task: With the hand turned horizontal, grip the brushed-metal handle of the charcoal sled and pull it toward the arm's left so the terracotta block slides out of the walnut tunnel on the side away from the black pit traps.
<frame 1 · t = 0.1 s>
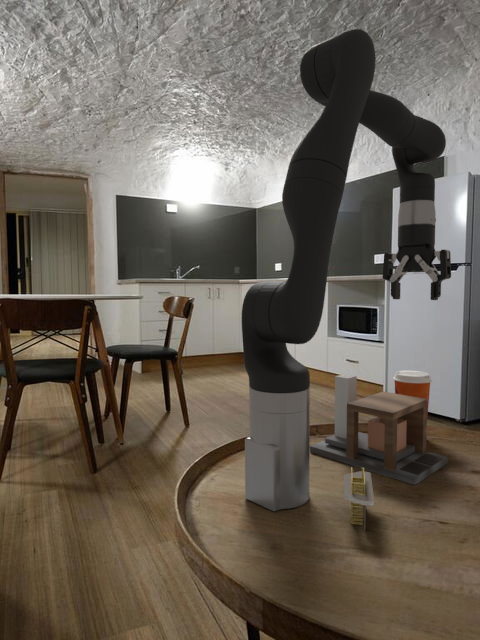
hand: (414, 299, 101), 29 cm above the table, tool pointing down, fingers open, 8 cm apart
tunnel: (365, 454, 90), on the table
paper cup: (411, 439, 99), on the table
yellow ladder: (357, 520, 66), on the table
sled: (369, 413, 89), point 8 cm above the table, slide at 0.0 cm
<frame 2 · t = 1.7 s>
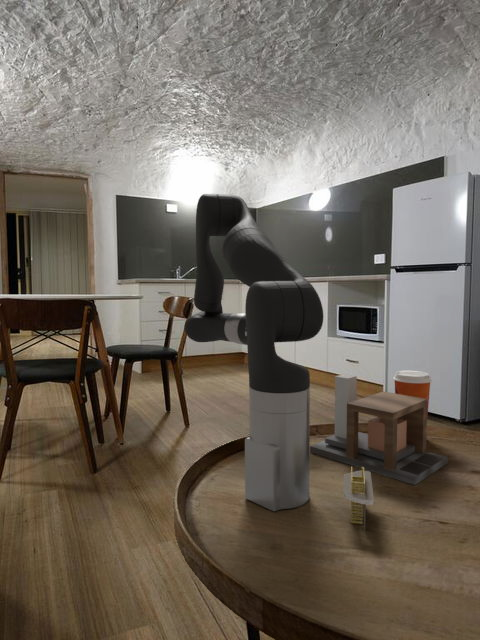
hand: (300, 334, 100), 22 cm above the table, tool horizontal, fingers open, 8 cm apart
nothing on the table moved.
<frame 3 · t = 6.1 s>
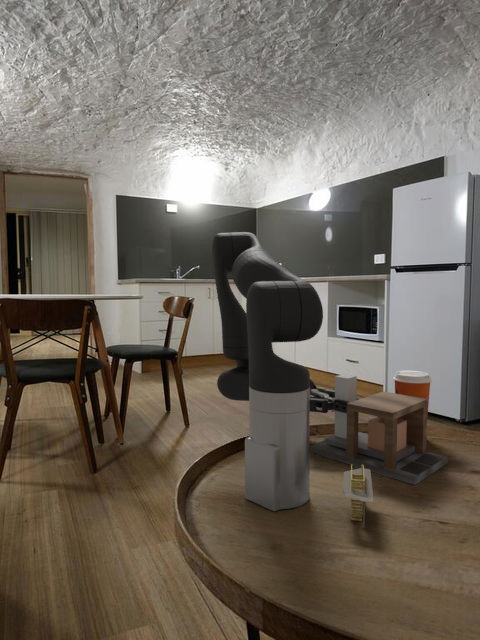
hand: (358, 406, 90), 9 cm above the table, tool horizontal, fingers closed on sled, 3 cm apart
sled: (369, 413, 89), point 8 cm above the table, slide at 0.0 cm, touching gripper
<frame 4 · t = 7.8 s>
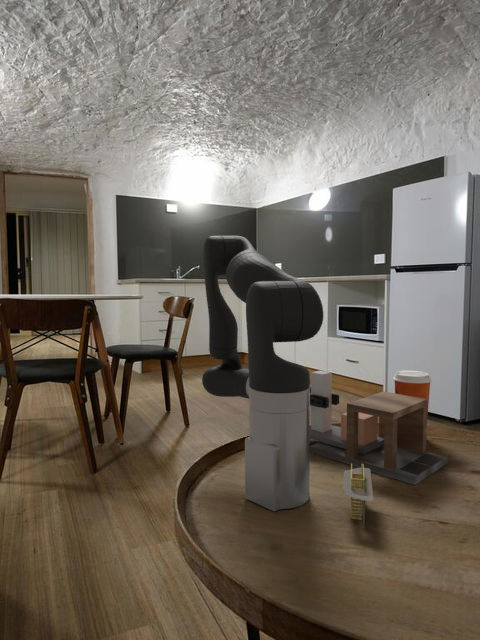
hand: (332, 401, 94), 9 cm above the table, tool horizontal, fingers closed on sled, 3 cm apart
sled: (342, 408, 93), point 8 cm above the table, slide at 5.9 cm, touching gripper
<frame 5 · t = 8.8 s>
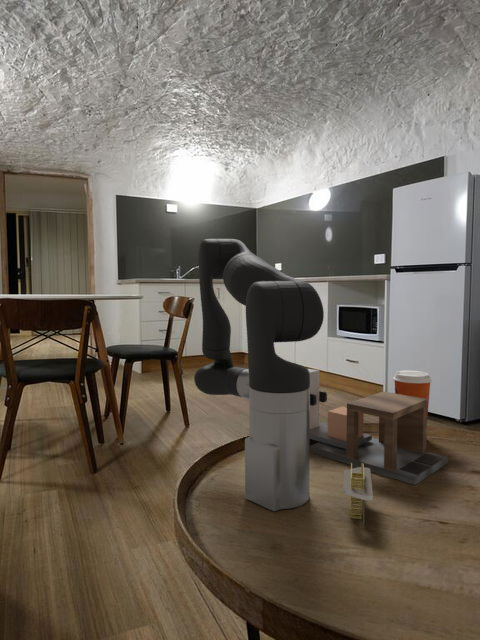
hand: (320, 398, 97), 9 cm above the table, tool horizontal, fingers closed on sled, 3 cm apart
sled: (329, 405, 95), point 8 cm above the table, slide at 9.0 cm, touching gripper
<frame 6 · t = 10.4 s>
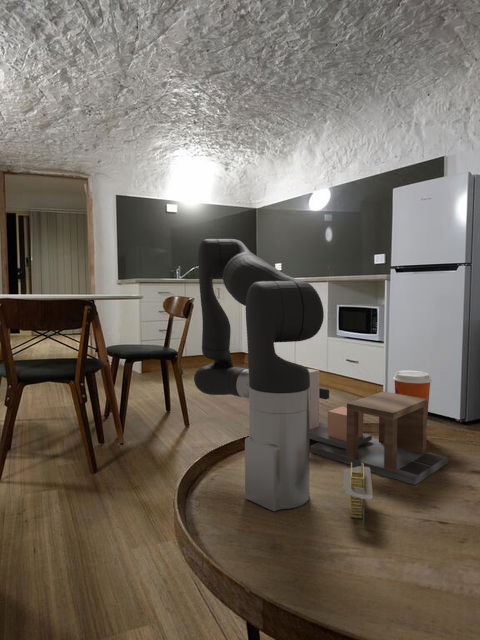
hand: (316, 398, 97), 9 cm above the table, tool horizontal, fingers open, 8 cm apart
sled: (329, 405, 95), point 8 cm above the table, slide at 9.0 cm
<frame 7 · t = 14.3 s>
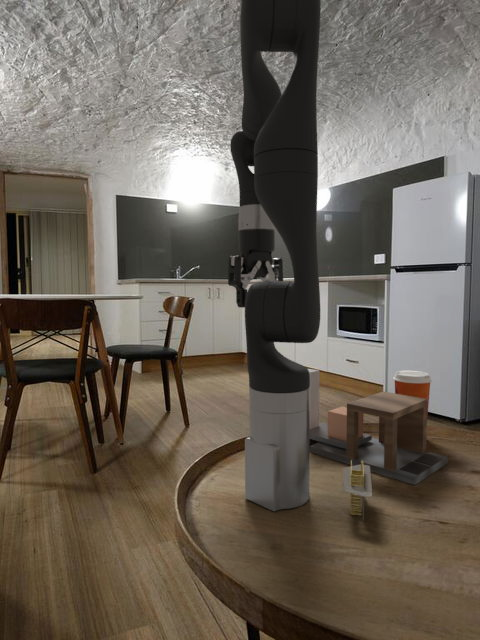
hand: (256, 306, 98), 28 cm above the table, tool pointing down, fingers open, 8 cm apart
at the end: sled slide at 9.0 cm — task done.
